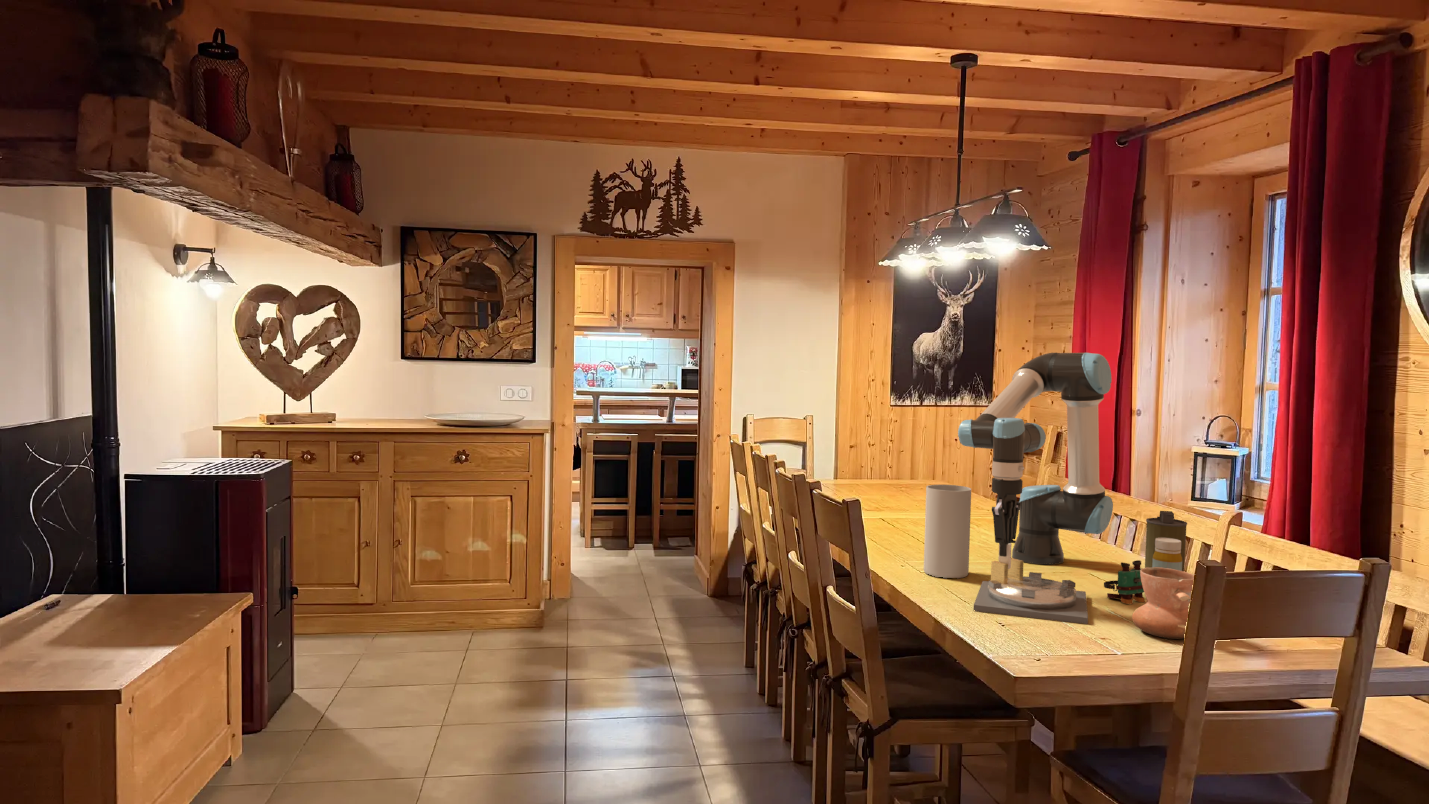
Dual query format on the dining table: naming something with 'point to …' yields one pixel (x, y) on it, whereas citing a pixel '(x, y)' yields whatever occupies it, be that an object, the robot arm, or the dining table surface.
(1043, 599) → the oval turntable platform
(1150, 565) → the canister
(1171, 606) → the ceramic jug
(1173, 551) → the bottle
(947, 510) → the cylinder vase
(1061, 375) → the robot arm
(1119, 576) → the binoculars
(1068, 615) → the base board
